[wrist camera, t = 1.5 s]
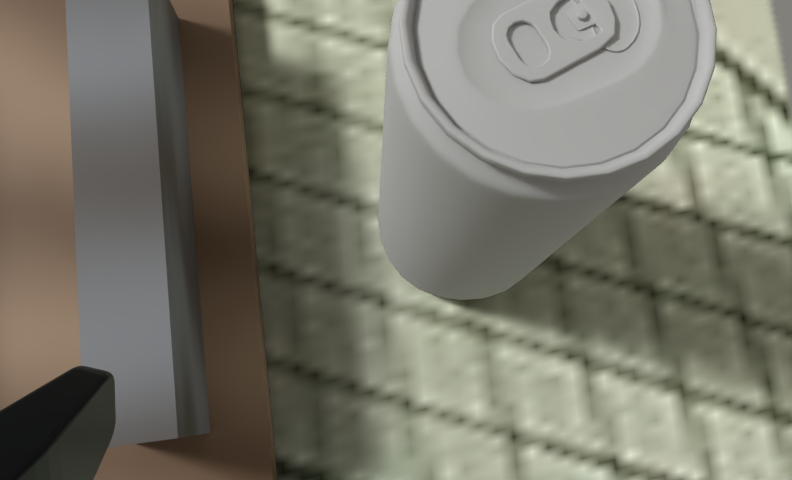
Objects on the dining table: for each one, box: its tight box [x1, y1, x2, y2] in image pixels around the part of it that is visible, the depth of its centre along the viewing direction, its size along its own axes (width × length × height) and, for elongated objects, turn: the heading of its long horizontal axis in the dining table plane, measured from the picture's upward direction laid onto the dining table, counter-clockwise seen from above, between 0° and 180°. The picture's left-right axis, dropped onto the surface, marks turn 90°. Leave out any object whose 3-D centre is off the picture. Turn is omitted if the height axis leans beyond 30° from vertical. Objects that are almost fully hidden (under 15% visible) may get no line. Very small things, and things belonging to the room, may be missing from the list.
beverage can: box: [378, 0, 717, 300], centre depth 17 cm, size 5×5×12 cm
